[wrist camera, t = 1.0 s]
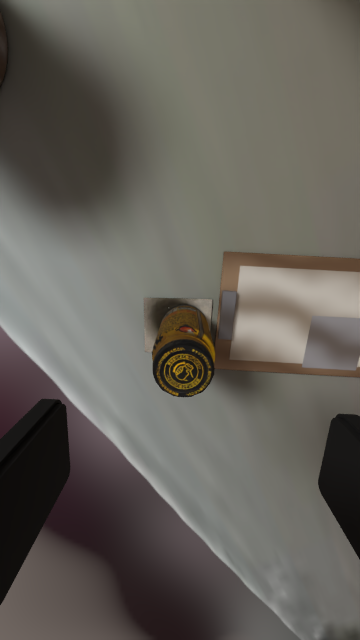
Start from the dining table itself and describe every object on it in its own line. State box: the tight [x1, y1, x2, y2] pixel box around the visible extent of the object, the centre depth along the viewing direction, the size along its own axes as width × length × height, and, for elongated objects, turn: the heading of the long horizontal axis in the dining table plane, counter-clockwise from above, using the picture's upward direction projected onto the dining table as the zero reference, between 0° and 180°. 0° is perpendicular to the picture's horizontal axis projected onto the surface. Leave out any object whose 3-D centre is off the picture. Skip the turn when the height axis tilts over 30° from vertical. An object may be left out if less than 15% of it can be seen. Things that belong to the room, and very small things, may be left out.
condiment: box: [144, 298, 215, 397], centre depth 26 cm, size 7×8×12 cm
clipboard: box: [214, 252, 360, 377], centre depth 31 cm, size 15×22×1 cm
